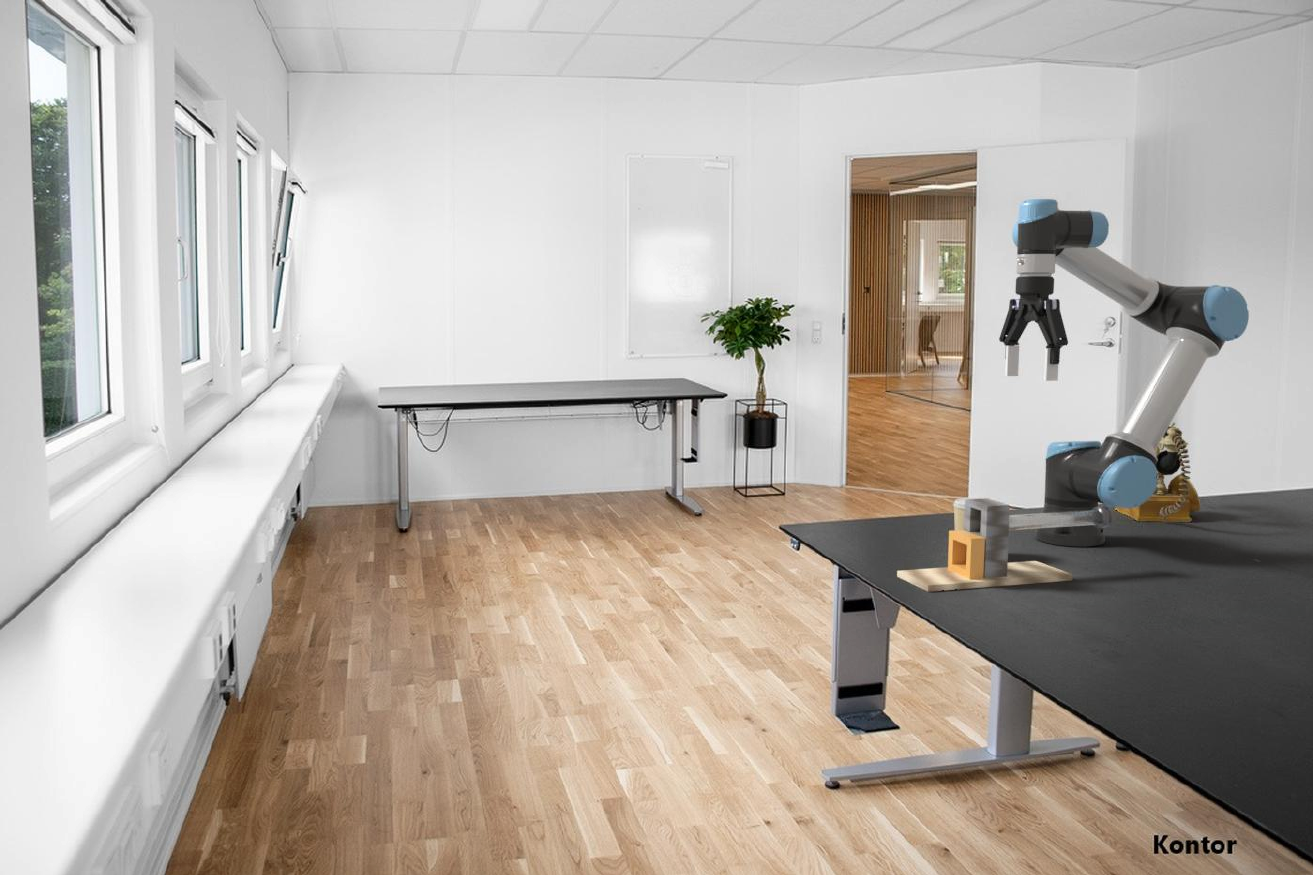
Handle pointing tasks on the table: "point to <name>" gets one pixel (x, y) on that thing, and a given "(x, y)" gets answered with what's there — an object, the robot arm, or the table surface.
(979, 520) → the bearing fixture
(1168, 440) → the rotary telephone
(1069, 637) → the table surface
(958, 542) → the frame
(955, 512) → the coffee cup
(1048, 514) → the shaft
